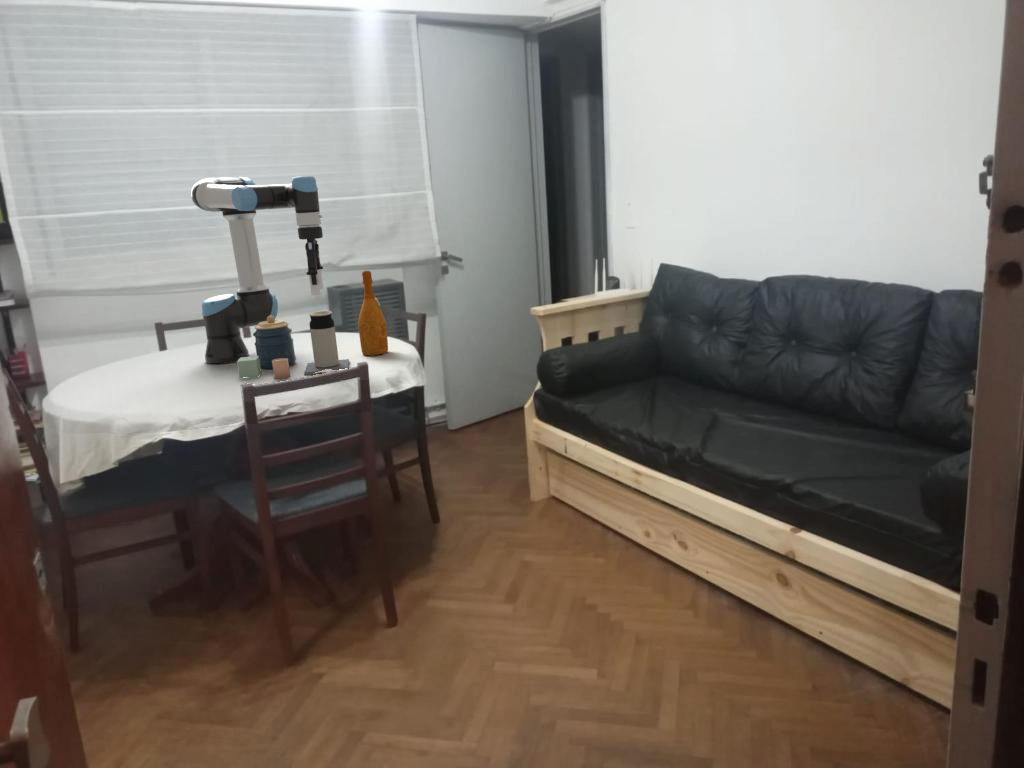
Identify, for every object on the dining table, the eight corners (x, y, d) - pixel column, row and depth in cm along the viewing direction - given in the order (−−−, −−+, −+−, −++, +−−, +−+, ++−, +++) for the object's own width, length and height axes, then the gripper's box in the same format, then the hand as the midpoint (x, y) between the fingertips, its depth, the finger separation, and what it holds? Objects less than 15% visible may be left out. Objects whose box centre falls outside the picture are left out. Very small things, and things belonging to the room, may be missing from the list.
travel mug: (343, 363, 246) (337, 310, 242) (330, 368, 239) (323, 315, 235) (324, 362, 249) (317, 310, 245) (310, 367, 242) (303, 314, 237)
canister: (304, 362, 256) (297, 313, 251) (275, 371, 245) (267, 319, 241) (279, 359, 263) (272, 311, 258) (250, 367, 252) (242, 317, 248)
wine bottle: (382, 356, 257) (372, 272, 250) (356, 356, 260) (347, 272, 252) (393, 350, 267) (384, 268, 259) (369, 350, 269) (359, 269, 261)
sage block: (243, 374, 243) (240, 357, 241) (261, 373, 244) (259, 355, 242) (239, 379, 237) (236, 361, 236) (258, 377, 238) (256, 359, 237)
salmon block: (275, 376, 238) (272, 358, 236) (291, 375, 238) (288, 357, 237) (273, 380, 233) (270, 362, 231) (289, 378, 234) (286, 360, 232)
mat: (308, 365, 250) (307, 362, 250) (349, 361, 252) (349, 359, 252) (304, 375, 237) (304, 372, 236) (348, 371, 239) (347, 368, 239)
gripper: (318, 227, 221) (327, 296, 227) (323, 223, 245) (331, 286, 250) (293, 228, 220) (302, 298, 225) (301, 225, 243) (309, 288, 249)
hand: (317, 292), depth 238 cm, fingers open, 13 cm apart
